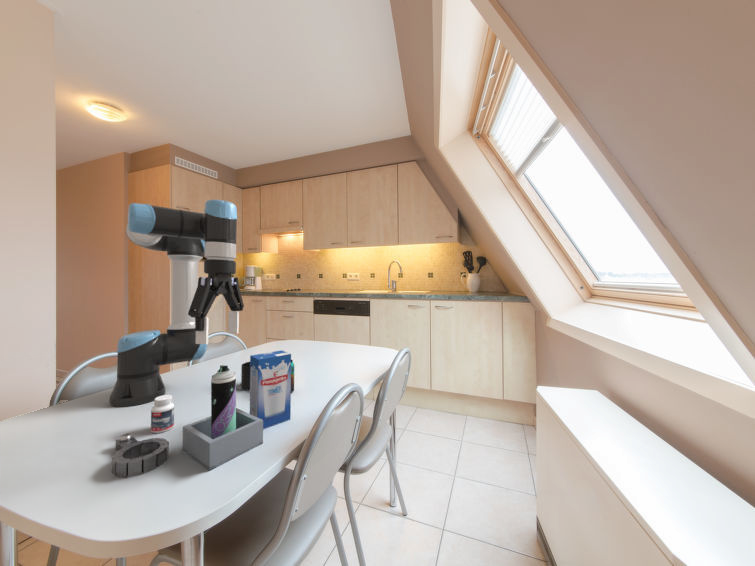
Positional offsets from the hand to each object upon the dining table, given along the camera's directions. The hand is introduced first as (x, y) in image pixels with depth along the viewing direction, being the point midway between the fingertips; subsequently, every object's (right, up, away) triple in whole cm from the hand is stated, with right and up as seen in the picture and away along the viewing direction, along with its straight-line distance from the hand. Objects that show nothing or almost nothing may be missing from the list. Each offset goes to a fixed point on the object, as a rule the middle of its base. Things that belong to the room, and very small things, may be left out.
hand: (219, 338), depth 77 cm
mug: (-6, -27, +36) cm, 45 cm away
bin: (+4, -27, -5) cm, 27 cm away
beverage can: (+8, -27, +31) cm, 42 cm away
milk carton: (+11, -27, +9) cm, 30 cm away
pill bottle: (-18, -27, +4) cm, 32 cm away
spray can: (+4, -26, -5) cm, 27 cm away
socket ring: (-14, -26, -10) cm, 31 cm away
